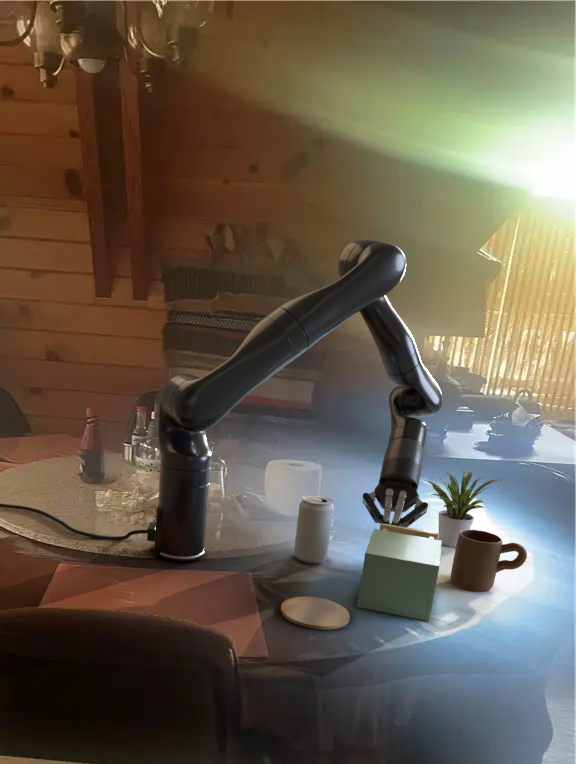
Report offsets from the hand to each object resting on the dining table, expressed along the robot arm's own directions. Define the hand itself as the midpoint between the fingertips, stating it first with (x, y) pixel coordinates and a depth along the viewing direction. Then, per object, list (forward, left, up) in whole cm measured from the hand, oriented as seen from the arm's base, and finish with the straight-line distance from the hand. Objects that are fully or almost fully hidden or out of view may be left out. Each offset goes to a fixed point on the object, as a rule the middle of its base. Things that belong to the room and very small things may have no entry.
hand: (386, 542), depth 143 cm
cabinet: (-1, -15, -5) cm, 16 cm away
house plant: (+19, +18, -5) cm, 27 cm away
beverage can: (-14, +1, -5) cm, 15 cm away
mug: (+17, -6, -5) cm, 19 cm away
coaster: (-16, -24, -5) cm, 29 cm away
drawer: (+2, -7, -4) cm, 8 cm away
